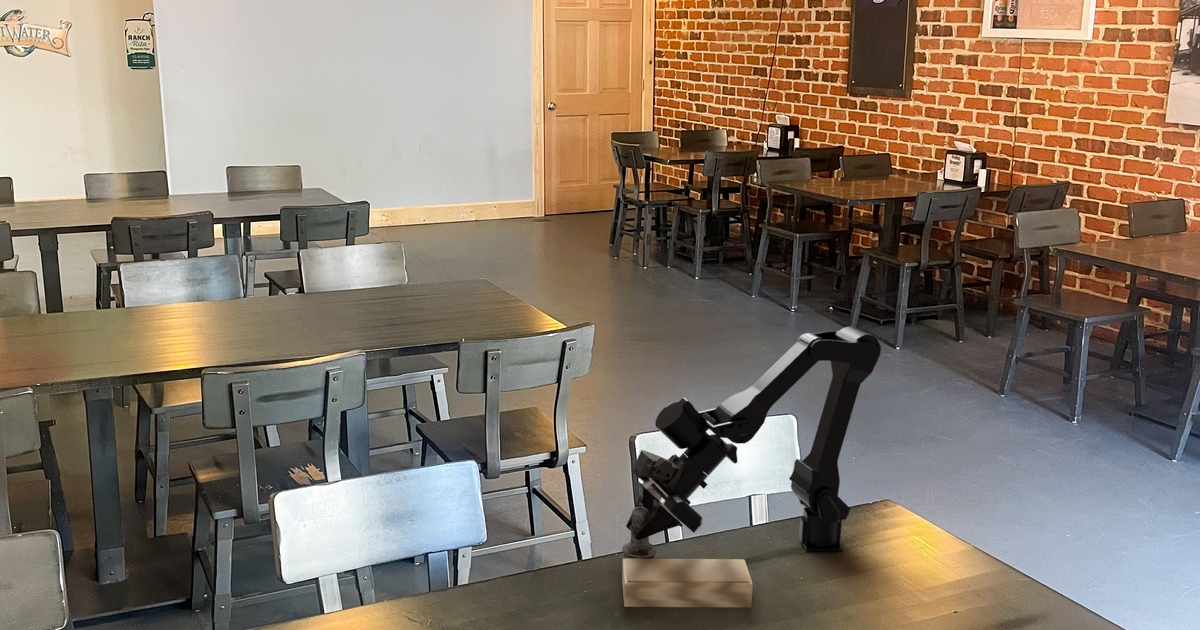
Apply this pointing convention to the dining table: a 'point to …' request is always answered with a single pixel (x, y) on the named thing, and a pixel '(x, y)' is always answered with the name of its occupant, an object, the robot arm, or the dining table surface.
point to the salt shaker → (639, 547)
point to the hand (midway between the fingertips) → (632, 533)
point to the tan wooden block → (686, 583)
